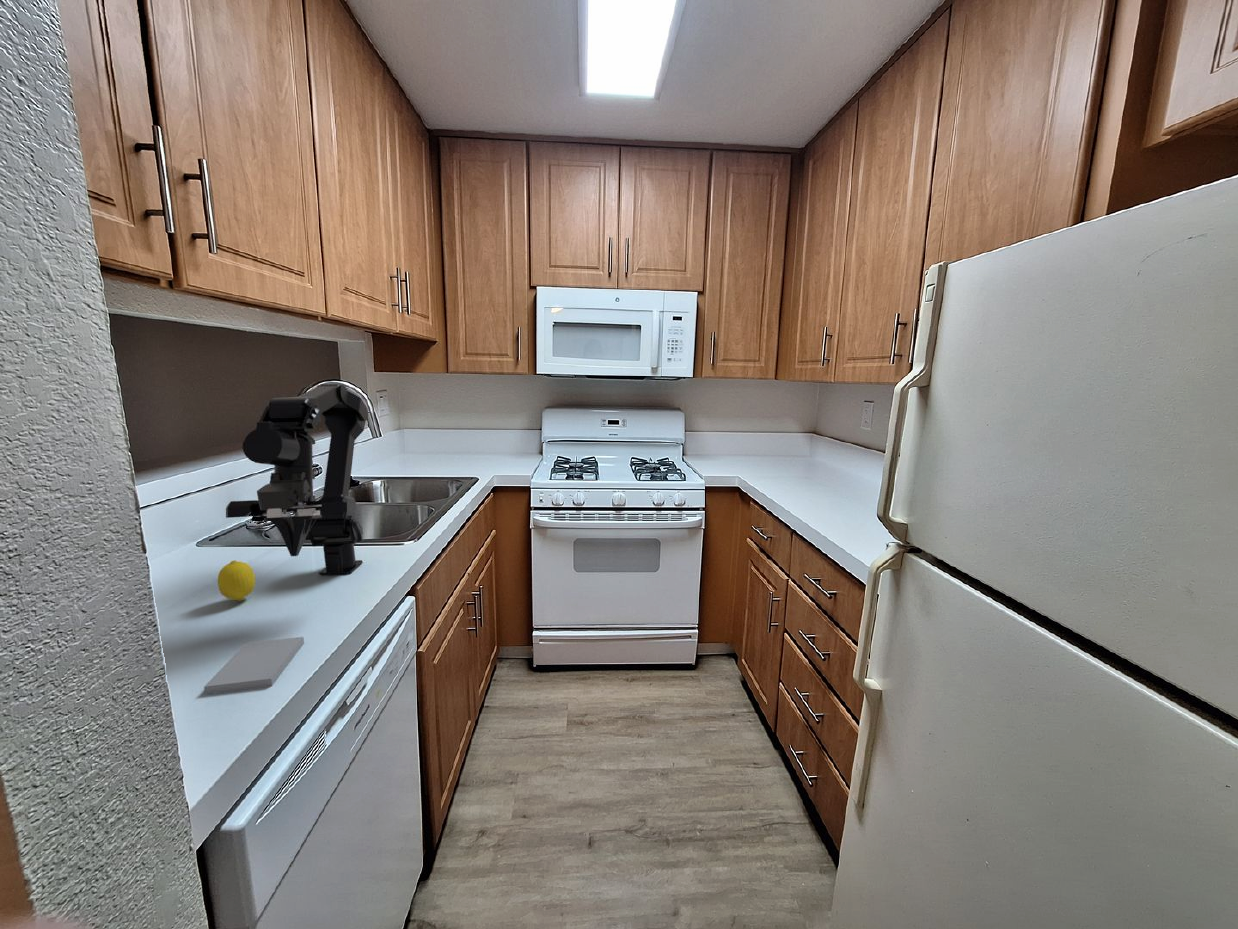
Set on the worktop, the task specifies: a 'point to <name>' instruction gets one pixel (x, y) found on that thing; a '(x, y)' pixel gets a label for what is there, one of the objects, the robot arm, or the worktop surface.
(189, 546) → the worktop surface
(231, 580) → the lemon
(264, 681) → the tile
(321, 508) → the robot arm
